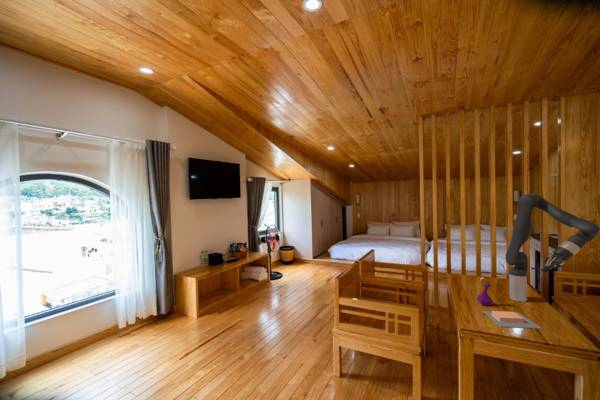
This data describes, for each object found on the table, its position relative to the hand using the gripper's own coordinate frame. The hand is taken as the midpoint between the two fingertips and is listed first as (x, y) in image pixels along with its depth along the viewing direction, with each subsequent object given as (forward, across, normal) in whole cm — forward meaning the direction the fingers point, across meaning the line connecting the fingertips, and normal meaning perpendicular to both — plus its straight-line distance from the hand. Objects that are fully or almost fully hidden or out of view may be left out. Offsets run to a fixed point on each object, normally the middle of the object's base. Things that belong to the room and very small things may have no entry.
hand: (542, 271), depth 152 cm
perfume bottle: (+36, -20, +4) cm, 41 cm away
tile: (+29, +3, +8) cm, 30 cm away
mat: (+33, +3, +6) cm, 34 cm away
